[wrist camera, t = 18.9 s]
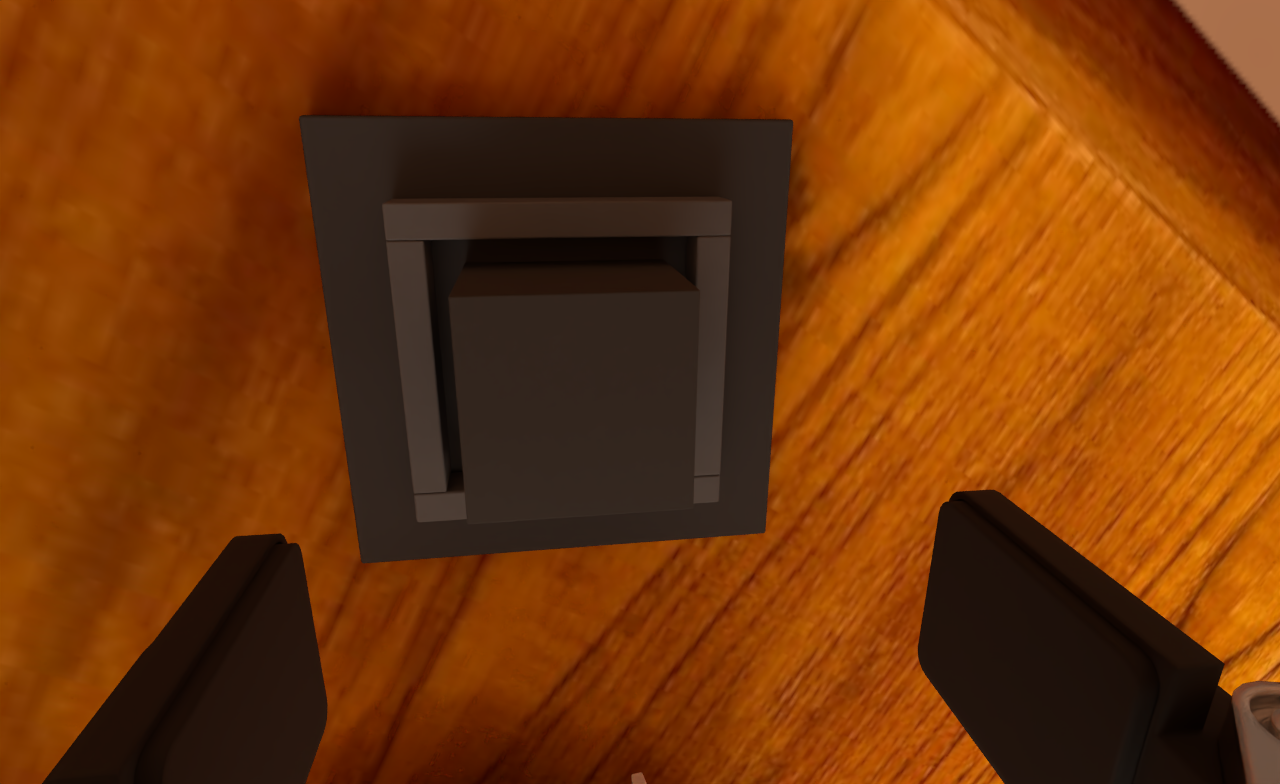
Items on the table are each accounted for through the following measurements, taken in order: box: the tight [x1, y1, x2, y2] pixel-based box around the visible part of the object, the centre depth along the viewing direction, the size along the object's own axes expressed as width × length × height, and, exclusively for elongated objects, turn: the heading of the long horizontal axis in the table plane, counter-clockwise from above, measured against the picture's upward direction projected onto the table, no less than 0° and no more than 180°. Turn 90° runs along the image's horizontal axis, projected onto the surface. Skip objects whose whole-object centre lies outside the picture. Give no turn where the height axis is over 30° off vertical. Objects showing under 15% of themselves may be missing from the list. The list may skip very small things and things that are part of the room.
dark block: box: [448, 259, 700, 524], centre depth 20 cm, size 6×6×5 cm
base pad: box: [299, 115, 793, 563], centre depth 23 cm, size 14×14×2 cm
